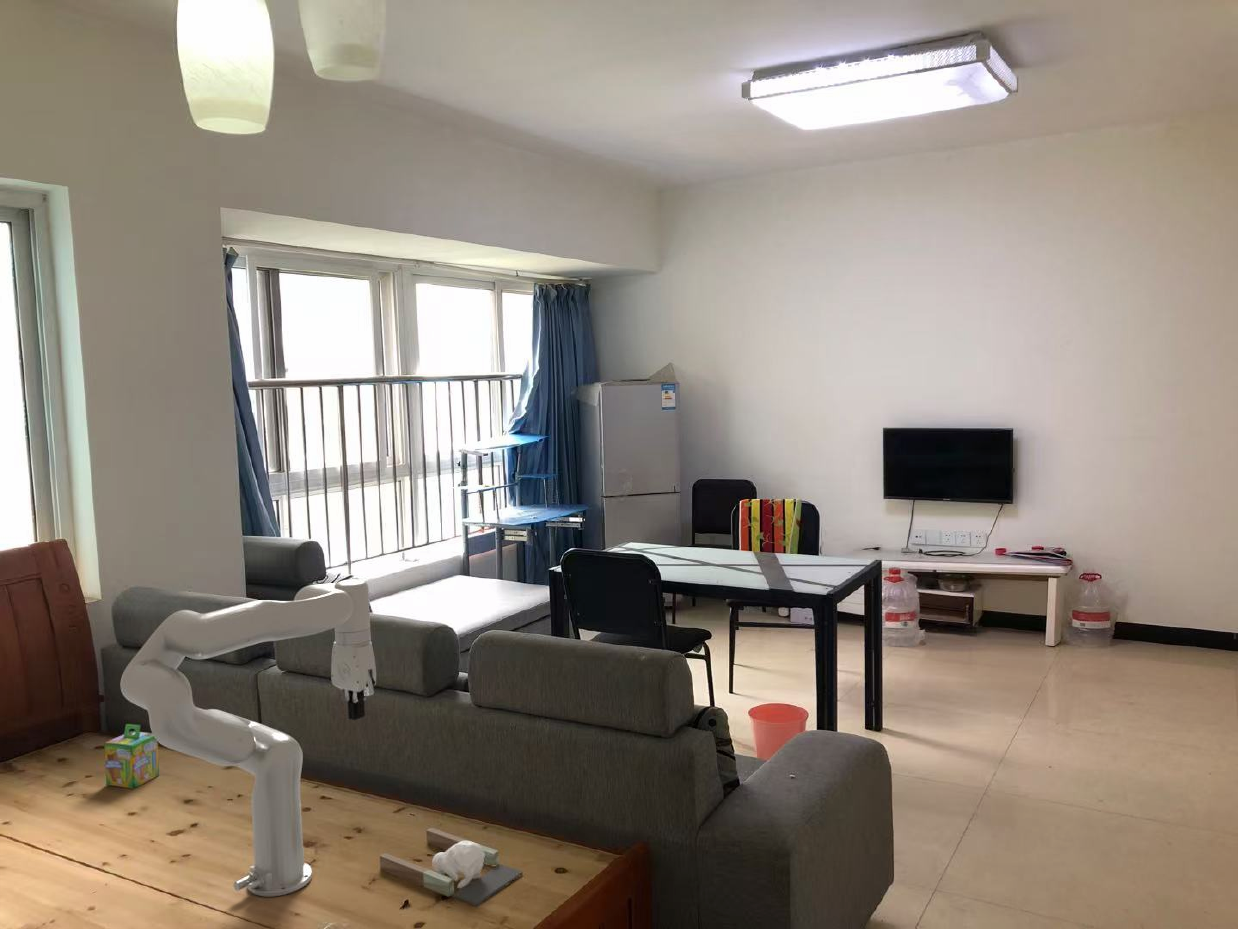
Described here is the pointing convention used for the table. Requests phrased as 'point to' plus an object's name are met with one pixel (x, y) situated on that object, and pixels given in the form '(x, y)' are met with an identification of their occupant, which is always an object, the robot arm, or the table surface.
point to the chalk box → (131, 758)
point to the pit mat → (487, 884)
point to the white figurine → (460, 861)
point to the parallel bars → (425, 875)
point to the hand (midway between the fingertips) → (356, 717)
